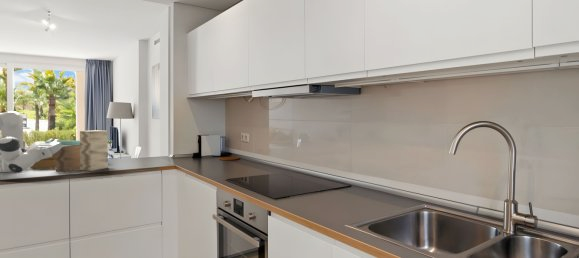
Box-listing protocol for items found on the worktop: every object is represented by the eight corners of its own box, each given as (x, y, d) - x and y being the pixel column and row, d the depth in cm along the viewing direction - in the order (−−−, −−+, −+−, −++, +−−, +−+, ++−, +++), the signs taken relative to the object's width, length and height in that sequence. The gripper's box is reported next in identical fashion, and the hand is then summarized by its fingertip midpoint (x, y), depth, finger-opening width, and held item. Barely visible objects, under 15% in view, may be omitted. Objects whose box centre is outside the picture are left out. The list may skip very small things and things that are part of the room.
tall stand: (80, 170, 225) (79, 131, 224) (97, 167, 239) (96, 130, 238) (91, 170, 223) (90, 131, 222) (107, 167, 237) (107, 130, 236)
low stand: (55, 170, 222) (55, 146, 221) (74, 167, 235) (73, 144, 235) (65, 171, 220) (65, 146, 219) (83, 168, 233) (83, 145, 233)
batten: (44, 146, 211) (44, 141, 211) (77, 144, 234) (78, 140, 234) (48, 146, 210) (48, 141, 210) (81, 145, 233) (81, 140, 233)
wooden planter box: (55, 169, 230) (55, 152, 229) (19, 169, 230) (19, 152, 230) (79, 164, 254) (78, 149, 254) (46, 164, 255) (46, 149, 255)
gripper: (26, 156, 209) (45, 143, 221) (53, 157, 204) (70, 144, 215) (21, 147, 206) (40, 135, 217) (47, 148, 201) (65, 136, 212)
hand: (55, 139), depth 216 cm, fingers closed on batten, 3 cm apart
